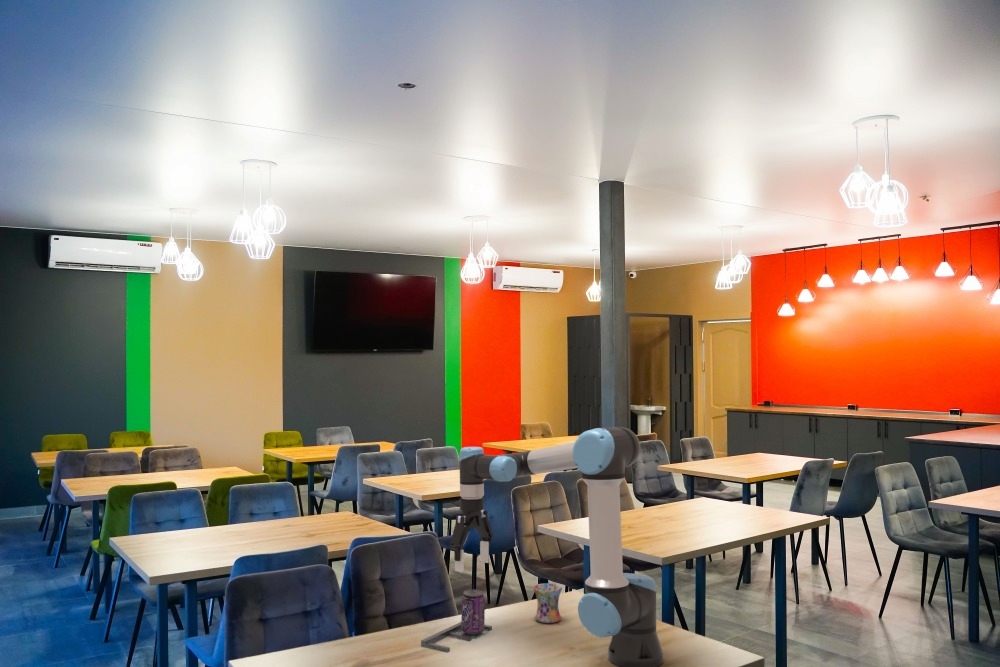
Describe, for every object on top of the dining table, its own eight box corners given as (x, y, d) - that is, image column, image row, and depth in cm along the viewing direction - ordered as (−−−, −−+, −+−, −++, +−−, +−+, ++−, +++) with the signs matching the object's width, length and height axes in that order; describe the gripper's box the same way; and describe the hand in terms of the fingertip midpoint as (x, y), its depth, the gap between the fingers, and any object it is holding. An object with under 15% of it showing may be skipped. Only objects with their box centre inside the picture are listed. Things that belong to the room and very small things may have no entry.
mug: (562, 625, 242) (562, 591, 243) (533, 625, 242) (533, 591, 243) (561, 613, 254) (561, 581, 255) (533, 613, 254) (533, 580, 255)
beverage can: (458, 629, 237) (458, 590, 237) (479, 627, 239) (480, 588, 240) (465, 637, 230) (466, 596, 231) (487, 634, 233) (488, 594, 233)
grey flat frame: (493, 629, 238) (493, 624, 238) (448, 652, 218) (448, 646, 218) (466, 624, 243) (466, 619, 243) (421, 646, 224) (421, 640, 224)
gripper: (484, 491, 249) (484, 557, 248) (437, 501, 229) (437, 573, 227) (503, 493, 245) (504, 560, 244) (458, 503, 224) (458, 577, 223)
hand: (472, 566), depth 236 cm, fingers open, 13 cm apart
